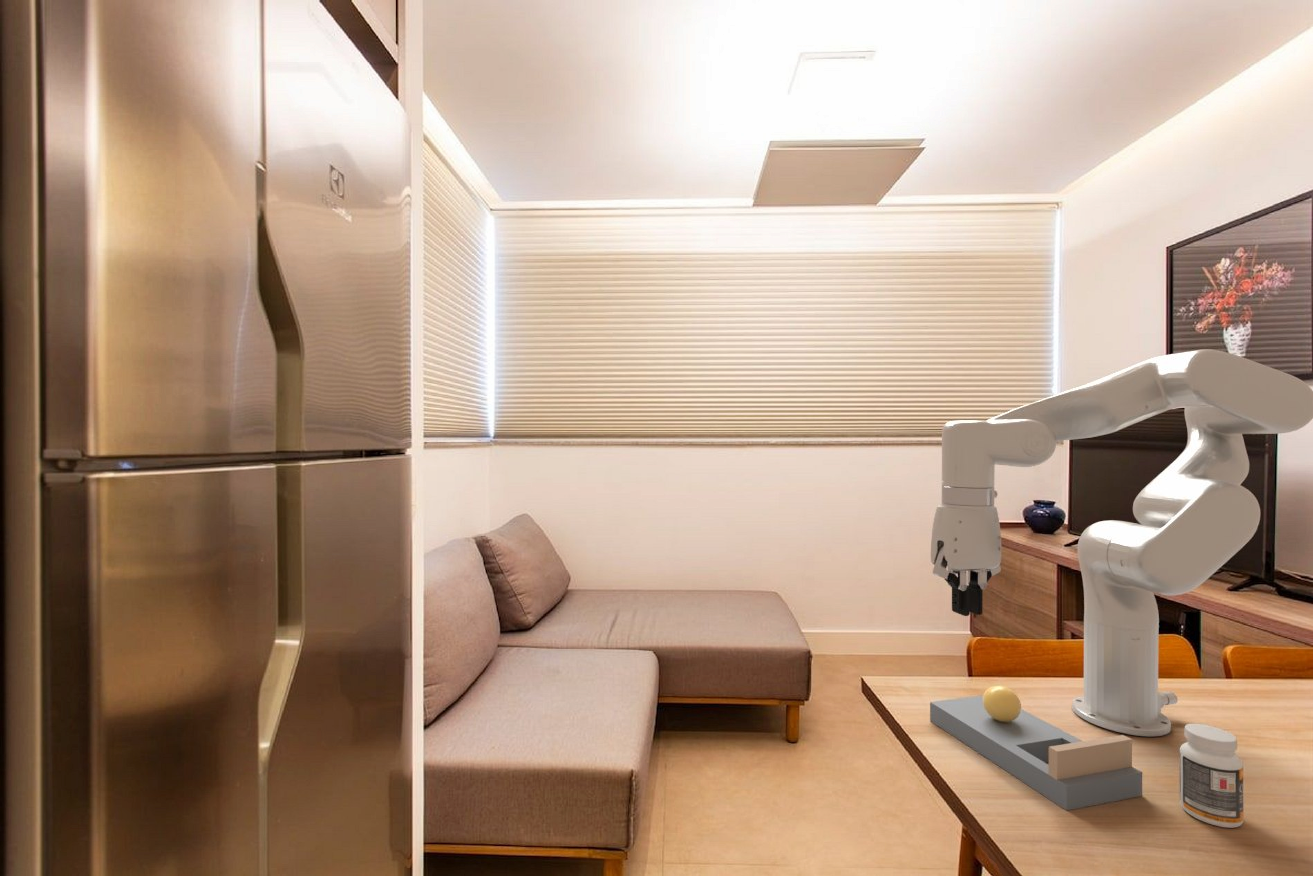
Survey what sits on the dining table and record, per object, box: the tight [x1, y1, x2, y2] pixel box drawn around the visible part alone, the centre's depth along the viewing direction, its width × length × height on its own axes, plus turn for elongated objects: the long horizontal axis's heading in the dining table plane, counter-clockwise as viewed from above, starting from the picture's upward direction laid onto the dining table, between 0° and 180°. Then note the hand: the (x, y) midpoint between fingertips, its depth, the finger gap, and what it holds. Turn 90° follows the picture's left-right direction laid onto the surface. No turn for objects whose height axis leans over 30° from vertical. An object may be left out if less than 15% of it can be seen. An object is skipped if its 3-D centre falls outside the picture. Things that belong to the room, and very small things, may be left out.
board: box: [929, 694, 1143, 811], centre depth 87 cm, size 12×24×6 cm, turn 15°
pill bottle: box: [1179, 723, 1244, 829], centre depth 73 cm, size 6×6×10 cm
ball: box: [983, 685, 1022, 722], centre depth 91 cm, size 5×5×5 cm
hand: (966, 612), depth 98 cm, fingers closed
